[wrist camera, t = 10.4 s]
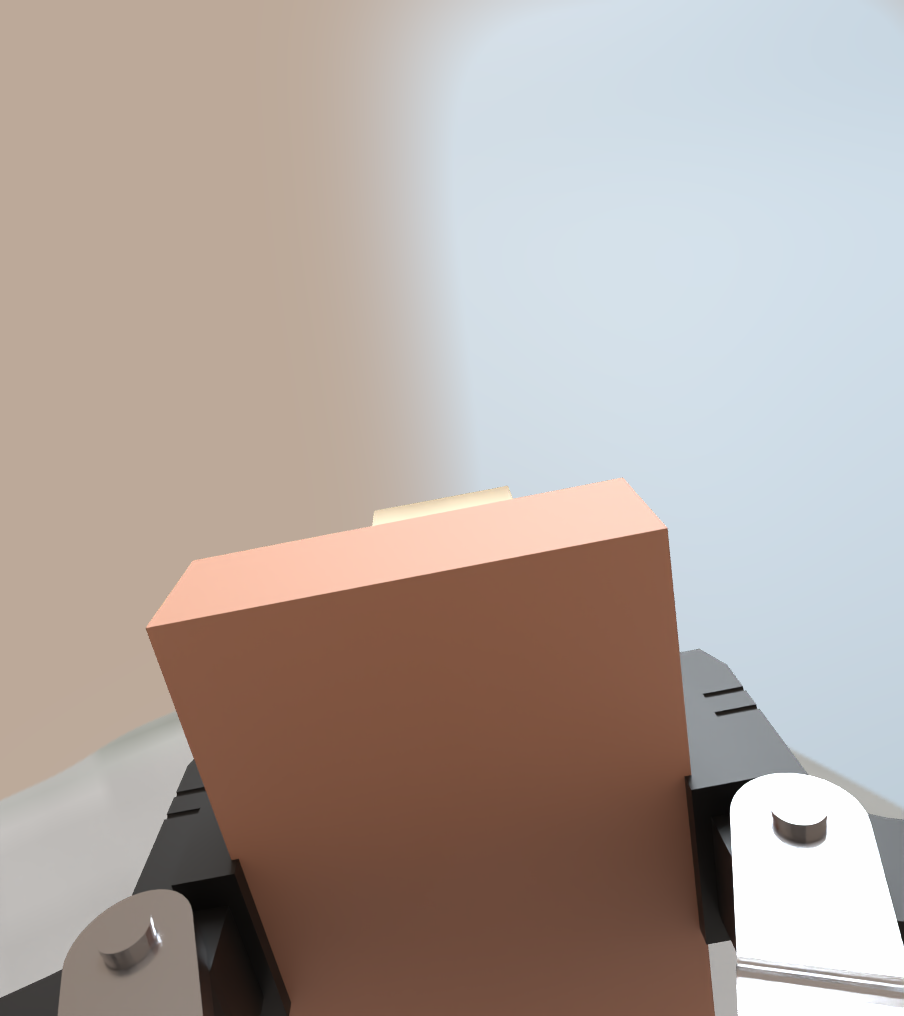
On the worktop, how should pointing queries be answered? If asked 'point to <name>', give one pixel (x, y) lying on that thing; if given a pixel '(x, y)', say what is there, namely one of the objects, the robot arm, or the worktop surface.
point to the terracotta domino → (453, 758)
